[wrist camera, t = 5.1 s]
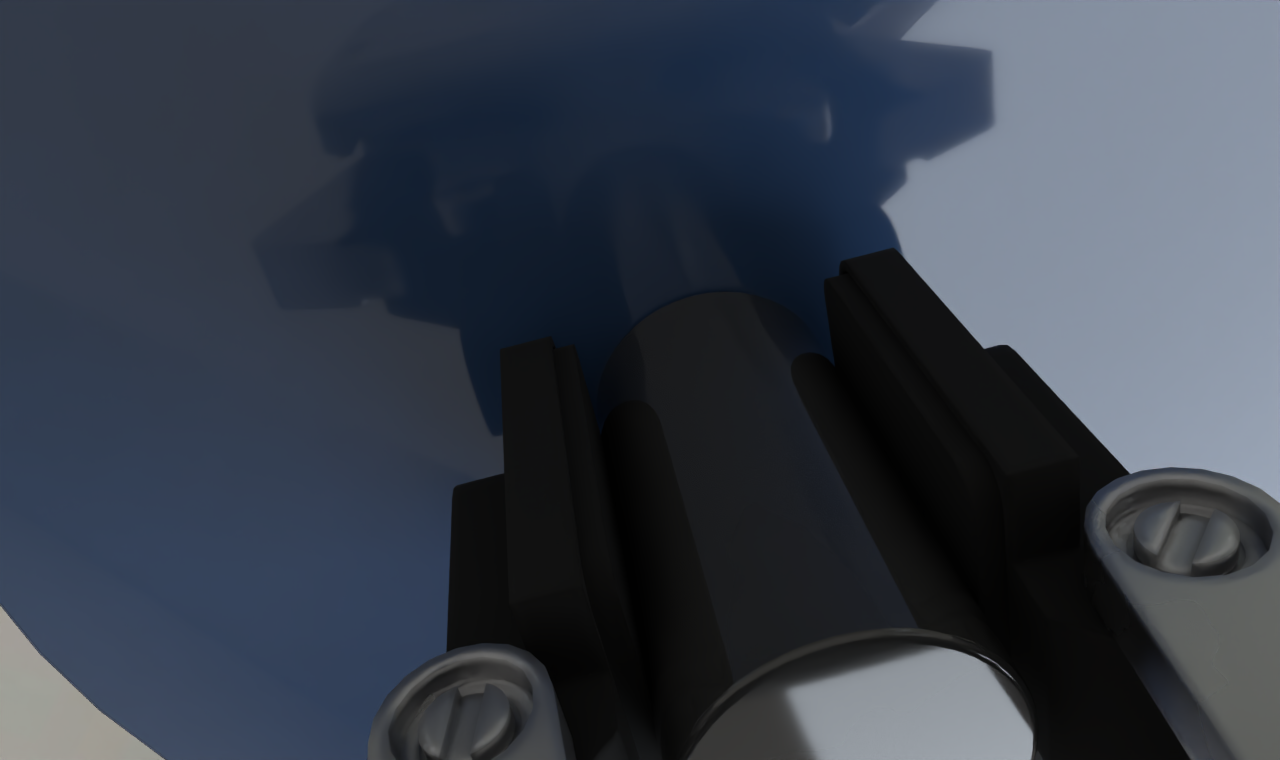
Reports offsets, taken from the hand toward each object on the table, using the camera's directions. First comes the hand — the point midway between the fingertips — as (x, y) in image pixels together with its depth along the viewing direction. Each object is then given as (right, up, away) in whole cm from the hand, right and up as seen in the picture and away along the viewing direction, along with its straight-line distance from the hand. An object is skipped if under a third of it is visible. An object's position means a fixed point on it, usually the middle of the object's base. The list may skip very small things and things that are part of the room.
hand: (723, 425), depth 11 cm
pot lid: (0, +1, +1) cm, 1 cm away
